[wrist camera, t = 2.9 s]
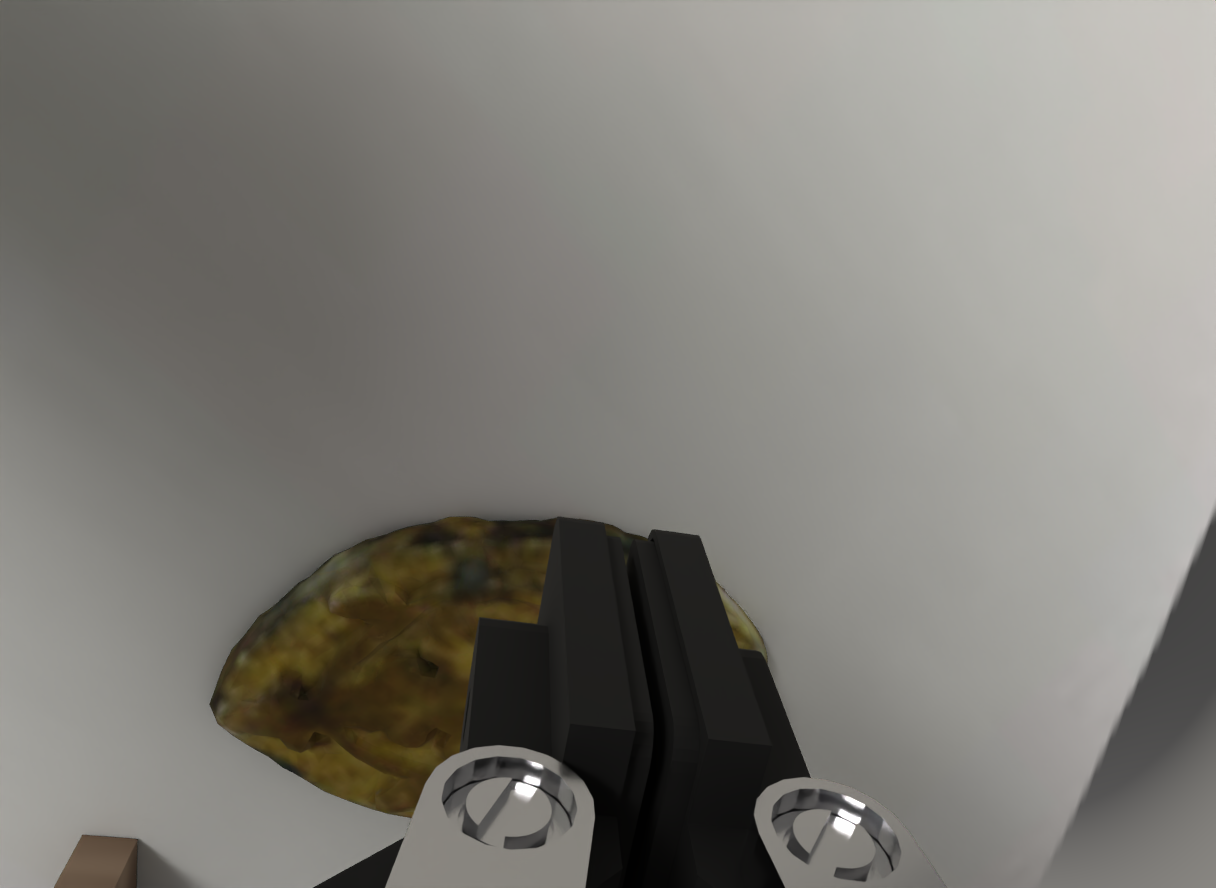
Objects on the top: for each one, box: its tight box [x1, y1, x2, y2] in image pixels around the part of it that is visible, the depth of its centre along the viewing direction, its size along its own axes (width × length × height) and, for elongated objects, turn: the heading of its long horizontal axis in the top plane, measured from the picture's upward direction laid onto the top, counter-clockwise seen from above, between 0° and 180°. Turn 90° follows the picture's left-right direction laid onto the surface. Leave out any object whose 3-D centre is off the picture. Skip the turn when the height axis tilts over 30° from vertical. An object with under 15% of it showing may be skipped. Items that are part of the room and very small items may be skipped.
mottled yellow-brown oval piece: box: [210, 517, 767, 818], centre depth 27 cm, size 9×5×15 cm
